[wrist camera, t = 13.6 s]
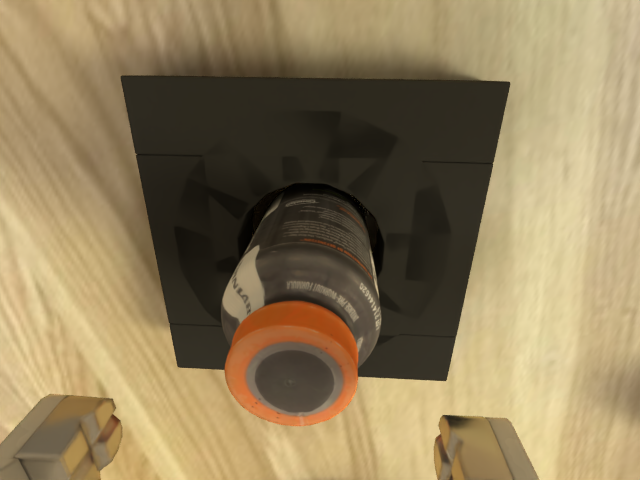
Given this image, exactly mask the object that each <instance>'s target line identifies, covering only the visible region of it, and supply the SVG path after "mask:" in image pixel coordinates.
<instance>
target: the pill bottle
mask: <svg viewBox="0 0 640 480" xmlns="http://www.w3.org/2000/svg"><path fill="white" fill-rule="evenodd" d="M221 320H222V326H223V331H224V334H225V336H226V339H227V341H228V343H229V345H230V347H231V348H230V351H229V353H228V356H227V359H226V363H225V377H226V382H227V385H228V388H229V390H230V392H231V394H232V395H233V396H234V398H235V399H236V400H237V401H238V402H239V404H240V405H241V406H242V407H244V408H245V409H246V410H248V411H249V412H251V413H252V414H254V415H256V416H257V417H259V418H261V419H264V420H267V421H269V422H273V423H277V424H281V425H290V426H306V425H313V424H316V423H320V422H323V421H326V420H329V419H331V418H333V417H334V416H336V415H337V414H339V413H340V412H341V411H343V410H344V409H345V408H346V406H347V405H348V404H349V403H350V402H351V400H352V398H353V396H354V395H355V392H356V388H357V383H358V368H359V367H360V366H361V365H362V364H363V363H364V362H365V360H366V359H367V358H368V356H369V355H370V354H371V352H372V350H373V349H374V347H375V345H376V343H377V340H378V337H379V333H380V328H381V308H380V301H379V294H378V286H377V277H376V272H375V267H374V261H373V257H372V252H371V246H370V240H369V234H368V229H367V224H366V220H365V217H364V214H363V212H362V210H361V208H360V207H359V206H358V204H357V203H356V202H355V201H354V199H353V198H352V197H351V196H349V195H348V194H347V193H345V192H344V191H341V190H339V189H337V188H335V187H332V186H330V185H328V184H315V183H304V184H299V185H296V186H293V187H290V188H288V189H286V190H285V191H283V192H282V193H281V194H280V195H278V196H277V197H276V198H275V199H274V201H273V202H272V203H271V204H270V206H269V208H268V210H267V211H266V213H265V215H264V217H263V219H262V221H261V223H260V225H259V226H258V228H257V230H256V231H255V234H254V235H253V237H252V239H251V241H250V243H249V245H248V247H247V249H246V250H245V252H244V254H243V256H242V258H241V259H240V261H239V263H238V265H237V267H236V270H235V272H234V274H233V276H232V277H231V279H230V281H229V283H228V285H227V287H226V290H225V293H224V296H223V299H222V303H221Z"/></svg>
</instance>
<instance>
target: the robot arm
mask: <svg viewBox="0 0 640 480" xmlns="http://www.w3.org/2000/svg"><path fill="white" fill-rule="evenodd" d="M115 409H116V406H115V404H114V401H113V399H109V398H97V397H85V396H73V395H58V394H49V395H48V396H46V397H44V398H42V399H41V400H40V401H39V402H38V403H37V404H36V406H35V407H34V408H33V409H32V410H31V411H30V412H29V413H28V414H27V415H26V417H25V418H24V419H23V420H22V421H21V422H20V423H19V424H18V425H17V426H16V427H15V429H14V430H13V431H12V432H11V433H10V434H9V435H8V436H7V437H6V438H5V439H4V441H3V442H2V443H1V444H0V480H101V478H100V470H101V469H103V468H104V467H105V466H107V465H108V464H109V463H111V462H112V460H113V458H114V457H115V455H116V453H117V451H118V449H119V446H120V443H121V439H122V425H121V421H120V420H119V419H118V418H117V417H115V416H114V415H113V412H114V411H115ZM439 429H440V433H441V434H440V435H439V436H438V437H436V439H435V444H434V463H435V470H436V474H437V479H438V480H539V478H538V476H537V474H536V472H535V470H534V468H533V466H532V464H531V462H530V460H529V458H528V456H527V453H526V451H525V449H524V447H523V445H522V443H521V441H520V439H519V437H518V435H517V433H516V431H515V429H514V427H513V425H512V423H511V422H510V421H509V420H508V419H507V418H489V417H485V418H484V417H478V416H452V415H443V416H442V417H441V418H440V421H439Z"/></svg>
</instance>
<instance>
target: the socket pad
mask: <svg viewBox="0 0 640 480" xmlns="http://www.w3.org/2000/svg"><path fill="white" fill-rule="evenodd" d="M121 82H122V87H123V92H124V97H125V102H126V107H127V112H128V117H129V123H130V128H131V133H132V138H133V143H134V148H135V153H136V154H137V155H136V158H137V163H138V168H139V173H140V178H141V183H142V188H143V193H144V198H145V203H146V208H147V214H148V219H149V224H150V229H151V234H152V239H153V244H154V249H155V254H156V259H157V264H158V269H159V275H160V280H161V285H162V290H163V295H164V300H165V305H166V310H167V315H168V320H169V323H170V324H169V325H170V330H171V335H172V340H173V346H174V351H175V356H176V361H177V366H178V367H180V368H200V369H220V370H225V363H226V359H227V356H228V353H229V351H230V348H231V347H230V345H229V343H228V341H227V339H226V336H225V334H224V331H223V326H222V320H221V303H222V299H223V296H224V293H225V290H226V287H227V285H228V283H229V281H230V279H231V277H232V276H233V274H234V272H235V270H236V267H237V265H238V263H239V261H240V259H241V258H242V256H243V254H244V252H245V250H246V249H247V247H248V245H249V243H250V241H251V239H252V237H253V235H252V221H251V217H252V214H253V211H254V209H255V206H256V204H257V203H258V202H259V201H260V200H261V199H262V198H263V197H264V196H265V195H266V194H268V193H270V192H273V191H276V190H278V189H281V188H284V187H286V186H289V185H291V184H294V183H315V184H328V185H330V186H332V187H335V188H337V189H339V190H341V191H344V192H346V193H348V194H351V195H353V196H355V197H356V198H357V199H358V200H359V201H360V203H361V204H362V205H363V206H364V207H365V208H366V209H367V210H368V211H369V212H370V213H371V214H372V215H373V216H374V217H375V219H376V222H377V225H378V233H377V244H376V247H375V248H374V250H373V252H372V257H373V261H374V267H375V272H376V277H377V286H378V294H379V301H380V308H381V328H380V333H379V337H378V340H377V343H376V345H375V347H374V349H373V350H372V352H371V354H370V355H369V356H368V358H367V359H366V360H365V362H364V363H363V364H362V365H361V366H360V367H359V368H358V377H376V378H396V379H415V380H435V381H446V380H447V376H448V371H449V367H450V362H451V357H452V353H453V348H454V343H455V339H456V335H457V330H458V326H459V321H460V316H461V312H462V307H463V303H464V298H465V293H466V289H467V284H468V279H469V275H470V270H471V265H472V261H473V256H474V251H475V247H476V242H477V237H478V233H479V228H480V223H481V219H482V214H483V209H484V205H485V200H486V195H487V191H488V186H489V181H490V177H491V172H492V167H493V164H492V163H493V162H494V157H495V153H496V148H497V143H498V139H499V134H500V129H501V125H502V120H503V115H504V111H505V106H506V101H507V97H508V92H509V87H510V82H503V81H467V80H404V79H341V78H278V77H216V76H121Z"/></svg>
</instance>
